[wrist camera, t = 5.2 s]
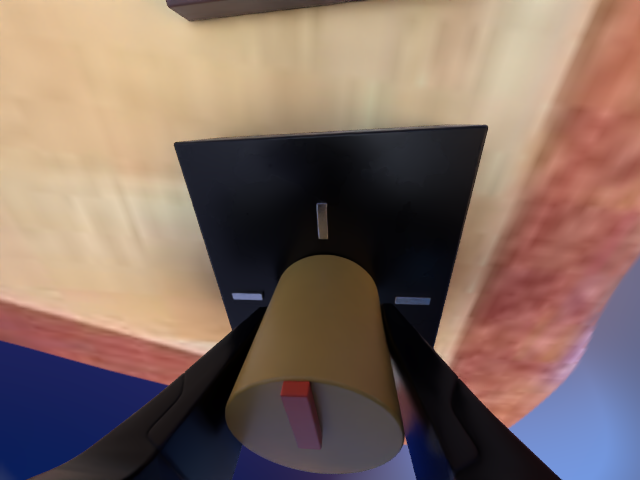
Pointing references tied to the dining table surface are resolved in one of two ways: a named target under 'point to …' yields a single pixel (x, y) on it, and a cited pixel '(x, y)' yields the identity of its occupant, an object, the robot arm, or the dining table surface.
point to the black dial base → (336, 209)
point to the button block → (237, 7)
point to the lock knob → (320, 374)
